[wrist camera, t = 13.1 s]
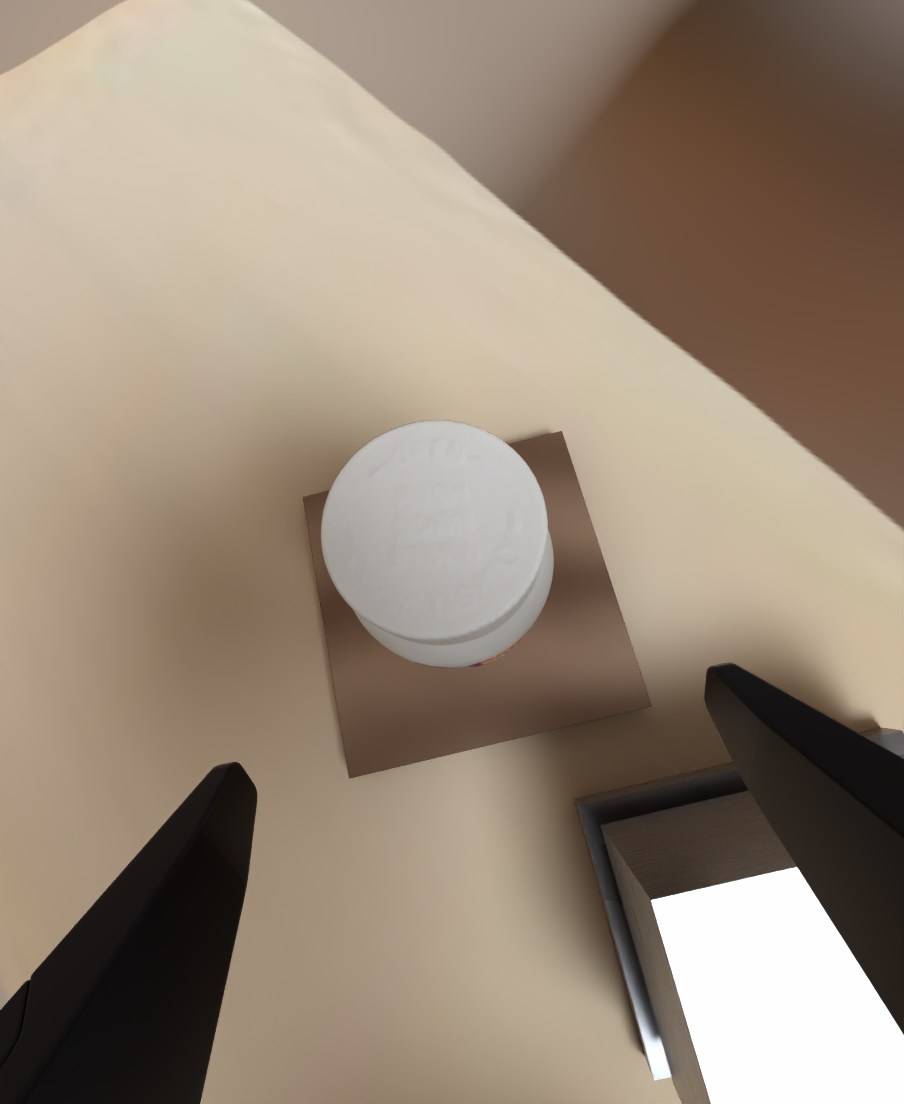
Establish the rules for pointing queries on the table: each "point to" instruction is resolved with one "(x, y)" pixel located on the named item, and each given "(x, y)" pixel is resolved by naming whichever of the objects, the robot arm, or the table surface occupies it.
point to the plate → (502, 685)
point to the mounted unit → (735, 950)
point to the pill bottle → (439, 543)
